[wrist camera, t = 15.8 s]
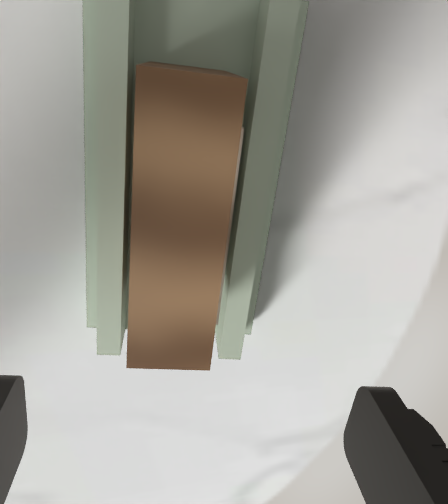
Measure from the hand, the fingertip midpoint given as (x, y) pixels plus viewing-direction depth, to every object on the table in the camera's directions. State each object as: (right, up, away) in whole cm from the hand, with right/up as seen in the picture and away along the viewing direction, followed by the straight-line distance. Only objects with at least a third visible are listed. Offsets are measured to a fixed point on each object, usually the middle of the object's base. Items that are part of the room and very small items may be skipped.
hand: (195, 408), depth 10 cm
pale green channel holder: (-2, +9, +18) cm, 20 cm away
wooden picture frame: (-2, +8, +17) cm, 19 cm away
